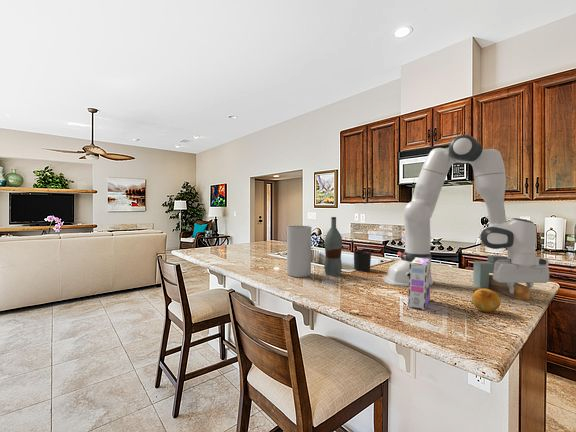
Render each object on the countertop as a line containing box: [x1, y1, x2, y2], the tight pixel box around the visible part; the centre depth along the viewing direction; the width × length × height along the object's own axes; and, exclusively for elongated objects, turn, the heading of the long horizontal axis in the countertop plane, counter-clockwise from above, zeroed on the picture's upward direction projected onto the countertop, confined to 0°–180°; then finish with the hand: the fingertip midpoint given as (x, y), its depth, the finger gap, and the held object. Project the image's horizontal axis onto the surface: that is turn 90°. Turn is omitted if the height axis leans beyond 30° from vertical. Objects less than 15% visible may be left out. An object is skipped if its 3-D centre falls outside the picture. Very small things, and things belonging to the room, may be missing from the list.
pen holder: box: [353, 250, 372, 272], centre depth 168 cm, size 9×9×10 cm
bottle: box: [323, 216, 343, 277], centre depth 157 cm, size 9×9×30 cm
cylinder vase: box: [286, 225, 312, 278], centre depth 155 cm, size 12×12×25 cm
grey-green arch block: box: [472, 254, 508, 289], centre depth 136 cm, size 14×5×14 cm, turn 90°
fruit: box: [471, 288, 501, 313], centre depth 105 cm, size 8×8×8 cm
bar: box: [489, 274, 531, 301], centre depth 128 cm, size 4×20×5 cm, turn 0°
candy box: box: [407, 258, 432, 311], centre depth 112 cm, size 14×6×16 cm, turn 148°
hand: (519, 293), depth 120 cm, fingers closed on bar, 4 cm apart
